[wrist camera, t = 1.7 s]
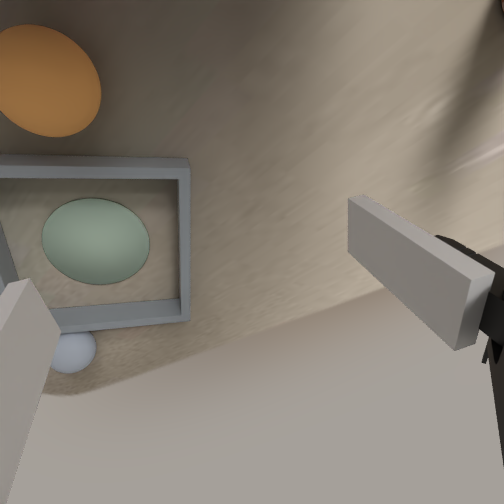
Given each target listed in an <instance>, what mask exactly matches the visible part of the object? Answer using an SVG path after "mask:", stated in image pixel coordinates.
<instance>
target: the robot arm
mask: <svg viewBox="0 0 504 504" xmlns="http://www.w3.org/2000/svg"><path fill="white" fill-rule="evenodd" d="M348 253H350V254H351V255H352V256H353V257H354V258H355V259H356V260H357V261H358V262H359V263H360V264H361V265H362V266H364V267H365V268H366V269H367V270H368V271H369V272H370V273H371V274H372V275H373V276H374V277H375V278H376V279H377V280H379V281H380V282H381V283H382V284H383V285H384V286H385V287H386V288H387V289H388V290H389V291H390V292H391V293H393V294H394V295H395V296H396V297H397V298H398V299H399V300H400V301H401V302H402V303H403V304H404V305H405V306H407V307H408V308H409V309H410V310H411V311H412V312H413V313H414V314H415V315H416V316H417V317H418V318H419V319H421V320H422V321H423V322H424V323H425V324H426V325H427V326H428V327H429V328H430V329H431V330H432V331H434V332H435V333H436V334H437V335H438V336H439V337H440V338H441V339H442V340H443V341H444V342H445V343H446V344H447V345H448V346H450V347H451V348H452V349H453V350H454V351H456V350H459V349H461V348H464V347H467V346H470V345H473V344H475V343H476V339H477V336H478V332H479V329H480V330H481V331H483V332H484V333H485V334H486V335H487V336H489V339H488V342H487V345H486V349H485V352H484V355H483V359H482V363H485V364H486V361H487V358H489V364H490V372H491V379H492V386H493V393H494V400H495V408H496V415H497V422H498V429H499V436H500V443H501V450H502V458H503V465H504V268H502V267H501V266H499V265H497V264H495V263H494V262H492V261H490V260H488V259H487V258H485V257H483V256H481V255H480V254H476V252H474V251H473V250H471V249H469V248H466V246H464V245H462V244H460V243H459V242H457V241H455V240H453V239H450V238H447V237H443V236H440V235H436V236H433V235H431V234H430V233H428V232H426V231H425V230H423V229H421V228H420V227H418V226H416V225H415V224H413V223H411V222H409V221H408V220H406V219H404V218H403V217H401V216H399V215H398V214H396V213H394V212H393V211H391V210H389V209H388V208H386V207H384V206H383V205H381V204H379V203H378V202H376V201H374V200H373V199H371V198H369V197H368V196H366V195H364V194H363V195H359V196H355V197H351V198H348ZM60 334H61V330H60V328H59V326H58V325H57V323H56V321H55V319H54V318H53V316H52V314H51V313H50V311H49V309H48V308H47V306H46V304H45V303H44V301H43V299H42V297H41V296H40V294H39V292H38V291H37V289H36V287H35V286H34V284H33V282H32V281H31V279H30V278H28V279H24V280H20V281H16V282H12V283H8V284H7V286H6V288H5V289H4V291H3V292H2V294H1V295H0V504H6V502H7V499H8V496H9V493H10V490H11V487H12V484H13V481H14V477H15V474H16V471H17V468H18V465H19V462H20V459H21V456H22V453H23V450H24V446H25V443H26V440H27V437H28V434H29V431H30V428H31V425H32V422H33V418H34V415H35V412H36V409H37V406H38V403H39V399H40V397H41V394H42V390H43V387H44V384H45V381H46V378H47V375H48V372H49V369H50V365H51V362H52V359H53V356H54V353H55V350H56V347H57V344H58V341H59V337H60Z"/></svg>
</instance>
